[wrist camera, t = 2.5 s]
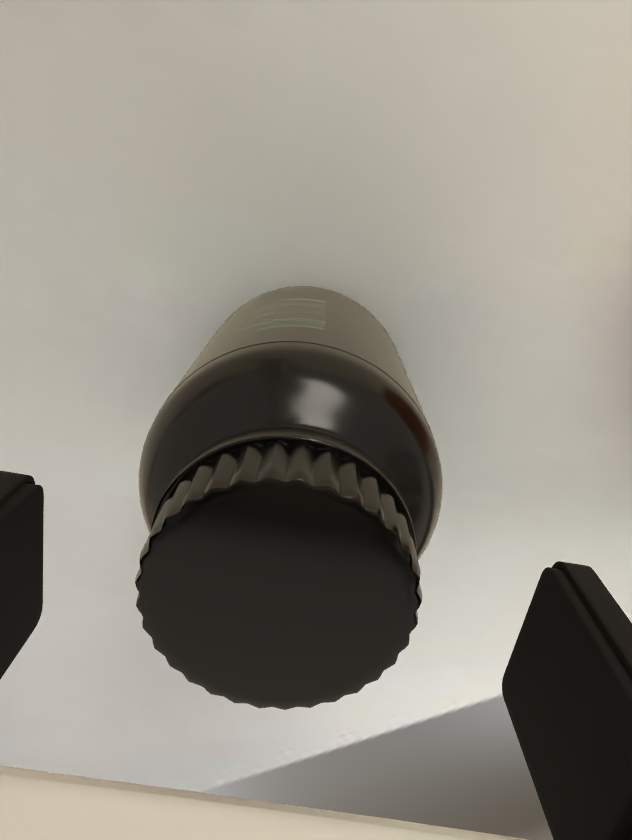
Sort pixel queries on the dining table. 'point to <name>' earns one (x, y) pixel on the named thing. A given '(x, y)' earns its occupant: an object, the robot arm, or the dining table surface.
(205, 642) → the supplement bottle
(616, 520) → the dining table surface
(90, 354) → the dining table surface
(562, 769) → the robot arm
